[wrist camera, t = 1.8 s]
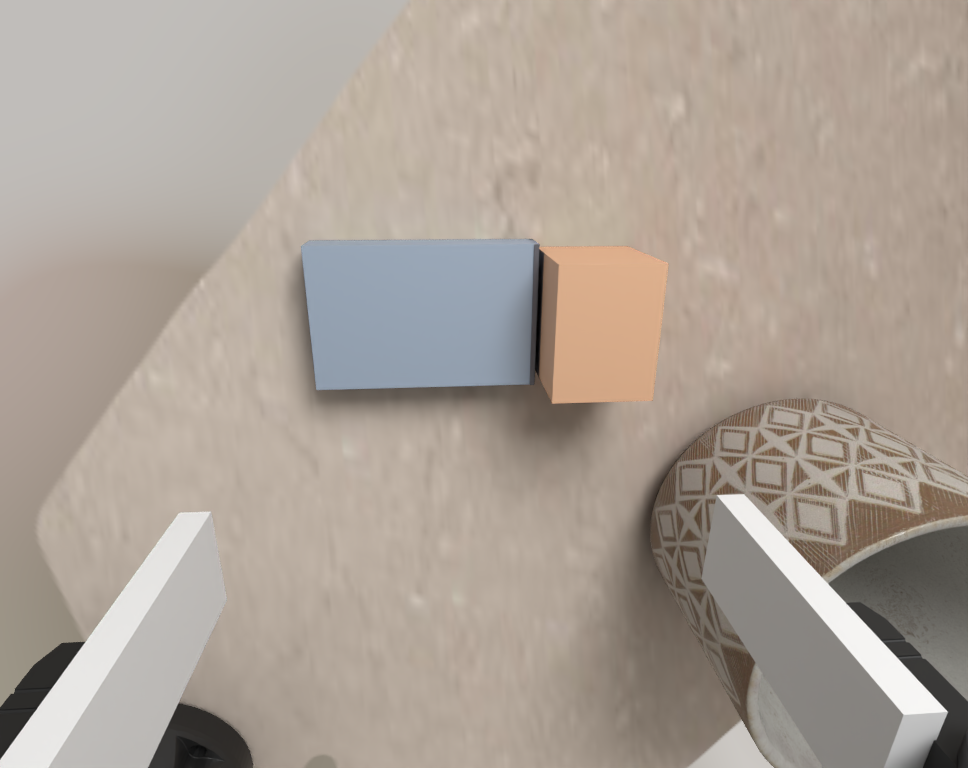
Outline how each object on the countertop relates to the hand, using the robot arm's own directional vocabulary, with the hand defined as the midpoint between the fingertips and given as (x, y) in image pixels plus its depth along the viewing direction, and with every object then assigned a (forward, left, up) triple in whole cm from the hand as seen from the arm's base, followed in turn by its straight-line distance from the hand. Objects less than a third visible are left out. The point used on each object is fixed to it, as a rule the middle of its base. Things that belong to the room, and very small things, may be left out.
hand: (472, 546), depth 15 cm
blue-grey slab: (-2, 0, -25) cm, 25 cm away
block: (+9, 0, -25) cm, 26 cm away
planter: (+24, -16, -25) cm, 38 cm away
